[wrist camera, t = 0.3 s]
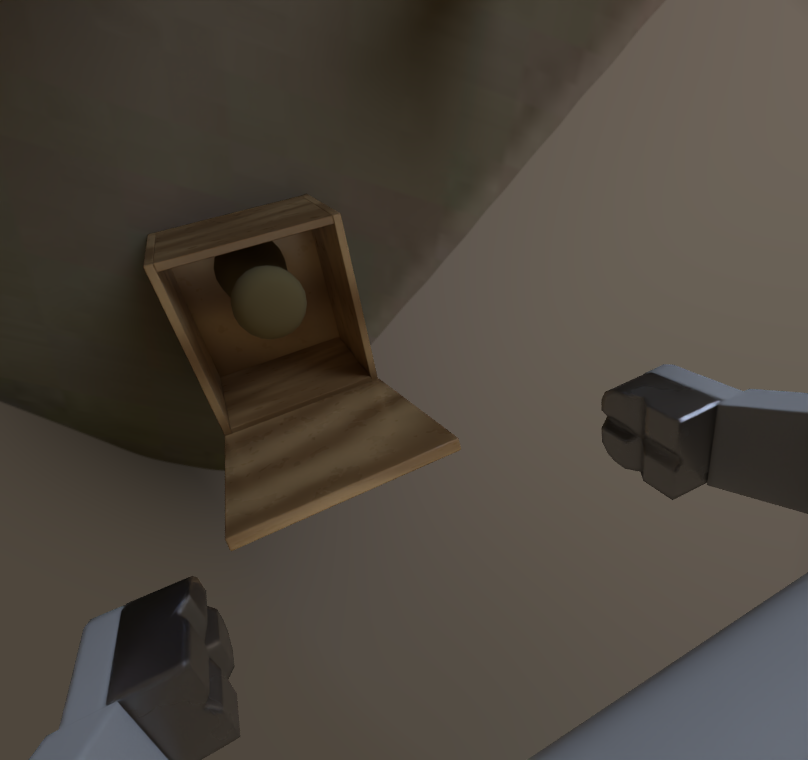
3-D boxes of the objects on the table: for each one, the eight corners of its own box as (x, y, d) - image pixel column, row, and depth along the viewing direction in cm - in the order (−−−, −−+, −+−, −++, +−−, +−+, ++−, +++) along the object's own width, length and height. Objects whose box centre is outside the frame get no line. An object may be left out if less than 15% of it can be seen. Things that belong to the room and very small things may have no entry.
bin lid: (224, 539, 23) (230, 552, 23) (458, 437, 26) (461, 450, 27) (224, 436, 37) (228, 444, 37) (378, 378, 40) (381, 386, 40)
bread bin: (147, 234, 37) (142, 266, 29) (307, 193, 40) (340, 213, 33) (215, 381, 45) (225, 437, 37) (344, 337, 48) (378, 379, 40)
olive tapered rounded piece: (224, 222, 38) (241, 254, 29) (294, 246, 41) (329, 282, 33) (205, 290, 40) (216, 341, 31) (274, 309, 43) (302, 359, 34)
